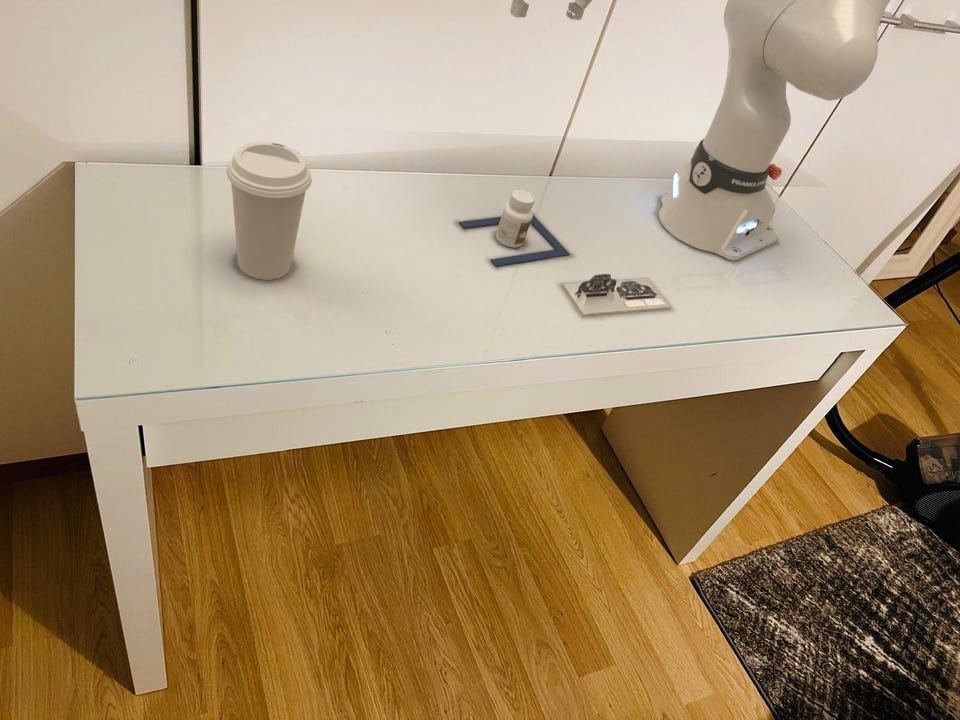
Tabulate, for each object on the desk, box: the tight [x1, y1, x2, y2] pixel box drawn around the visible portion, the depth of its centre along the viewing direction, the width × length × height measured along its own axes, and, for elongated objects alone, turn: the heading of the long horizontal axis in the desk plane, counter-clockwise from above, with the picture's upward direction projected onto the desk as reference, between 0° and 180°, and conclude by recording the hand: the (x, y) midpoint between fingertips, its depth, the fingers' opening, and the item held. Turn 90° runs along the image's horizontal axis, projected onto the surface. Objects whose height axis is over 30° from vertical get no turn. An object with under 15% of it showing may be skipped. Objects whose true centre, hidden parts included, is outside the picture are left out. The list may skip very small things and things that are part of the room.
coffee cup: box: [225, 141, 313, 281], centre depth 92 cm, size 10×10×15 cm
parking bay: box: [458, 214, 570, 268], centre depth 115 cm, size 14×11×1 cm
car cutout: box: [561, 273, 671, 317], centre depth 108 cm, size 15×7×4 cm, turn 112°
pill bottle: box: [495, 189, 535, 248], centre depth 112 cm, size 4×4×8 cm
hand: (546, 17), depth 102 cm, fingers open, 8 cm apart
